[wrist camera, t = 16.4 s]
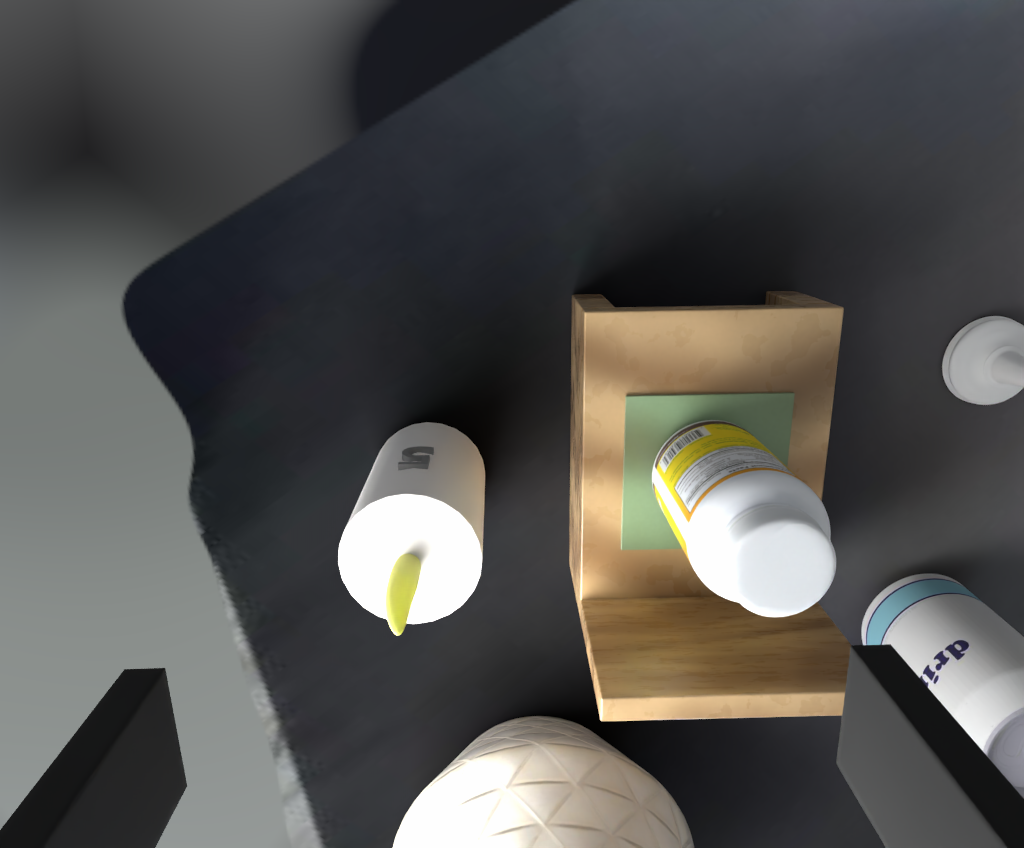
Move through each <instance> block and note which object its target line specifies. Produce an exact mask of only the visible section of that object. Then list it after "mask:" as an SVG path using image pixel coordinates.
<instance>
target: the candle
mask: <svg viewBox="0 0 1024 848" xmlns="http://www.w3.org/2000/svg"><path fill="white" fill-rule="evenodd" d="M484 498H485V468H484V463H483V459H482V457H481V455H480V453H479V451H478V448H477V447H476V446H475V445H474V443H473V442H472V441H471V440H470V439H469V438H468V437H467V436H466V435H464V434H463V433H461V432H460V431H458V430H457V429H455V428H453V427H450V426H447V425H444V424H440V423H430V422H425V423H419V424H413V425H410V426H408V427H406V428H403V429H401V430H399V431H398V432H396V433H395V434H394V435H393V436H391V437H390V438H389V439H388V440H387V442H386V443H385V444H384V446H383V447H382V448H381V450H380V452H379V454H378V456H377V459H376V461H375V463H374V465H373V468H372V470H371V472H370V474H369V477H368V479H367V481H366V483H365V486H364V488H363V490H362V492H361V494H360V497H359V499H358V501H357V503H356V506H355V508H354V510H353V512H352V515H351V517H350V519H349V521H348V524H347V526H346V528H345V530H344V533H343V536H342V539H341V542H340V544H339V557H338V564H339V568H340V572H341V576H342V580H343V581H344V583H345V585H346V587H347V589H348V590H349V592H350V594H351V595H352V596H353V597H354V598H355V599H356V600H357V601H358V602H359V603H360V604H361V605H362V606H363V607H364V608H366V609H367V610H369V611H370V612H372V613H374V614H375V615H377V616H379V617H381V618H385V619H387V620H388V623H389V626H390V628H391V630H392V632H393V633H394V634H395V635H401V633H402V632H403V630H404V628H405V626H406V623H410V624H417V623H424V622H431V621H434V620H437V619H439V618H442V617H444V616H447V615H449V614H451V613H452V612H453V611H455V610H456V609H457V608H459V607H460V606H462V605H463V604H464V603H465V601H466V600H467V599H468V598H469V596H470V595H471V594H472V593H473V591H474V589H475V587H476V585H477V582H478V580H479V578H480V574H481V565H482V552H483V525H484Z"/></svg>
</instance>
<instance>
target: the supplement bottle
mask: <svg viewBox="0 0 1024 848" xmlns="http://www.w3.org/2000/svg"><path fill="white" fill-rule="evenodd" d="M652 485H653V490H654V494H655V497H656V499H657V501H658V503H659V505H660V507H661V509H662V511H663V513H664V514H665V516H666V518H667V520H668V522H669V524H670V526H671V527H672V529H673V531H674V533H675V535H676V537H677V539H678V541H679V542H680V544H681V546H682V548H683V550H684V552H685V554H686V556H687V558H688V559H689V561H690V563H691V565H692V567H693V569H694V571H695V572H696V573H697V575H698V576H699V578H700V579H701V580H702V582H703V583H704V584H705V585H706V586H707V587H708V588H709V589H711V590H712V591H713V592H715V593H716V594H718V595H720V596H722V597H724V598H726V599H728V600H731V601H734V602H738V603H740V604H741V605H742V606H744V607H745V608H746V609H748V610H750V611H752V612H754V613H756V614H759V615H762V616H767V617H785V616H790V615H794V614H797V613H800V612H802V611H804V610H806V609H808V608H809V607H811V606H812V605H814V604H815V603H816V602H817V601H819V600H820V599H821V598H822V596H823V595H824V594H825V593H826V591H827V590H828V589H829V587H830V585H831V583H832V581H833V578H834V575H835V572H836V554H835V551H834V547H833V545H832V543H831V541H830V536H831V530H830V522H829V518H828V515H827V512H826V509H825V507H824V505H823V503H822V502H821V500H820V499H819V497H818V496H817V495H816V494H815V493H814V492H813V491H812V489H811V488H810V487H808V486H807V485H806V484H805V483H804V482H803V481H802V480H801V479H800V478H799V477H797V476H796V475H795V474H794V473H793V472H792V471H791V470H790V469H789V468H788V467H787V466H786V465H785V464H783V463H782V462H781V461H780V460H779V459H778V458H777V457H776V456H775V455H774V454H772V453H771V452H770V451H769V450H768V449H767V448H766V447H765V446H764V445H763V444H762V443H760V442H759V441H758V440H757V439H756V438H755V437H754V436H753V435H752V434H751V433H749V432H748V431H746V430H745V429H743V428H742V427H740V426H738V425H736V424H733V423H730V422H726V421H720V420H706V421H700V422H696V423H693V424H690V425H688V426H686V427H684V428H682V429H680V430H678V431H677V432H676V433H674V434H673V435H672V436H671V437H670V438H669V439H668V440H667V441H666V442H665V443H664V445H663V446H662V447H661V449H660V451H659V452H658V454H657V457H656V459H655V462H654V466H653V471H652Z"/></svg>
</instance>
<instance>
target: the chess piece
mask: <svg viewBox="0 0 1024 848" xmlns="http://www.w3.org/2000/svg"><path fill="white" fill-rule="evenodd" d="M942 373H943V378H944V381H945V383H946V385H947V387H948V389H949V390H950V391H951V392H952V393H953V394H954V395H955V396H956V397H958V398H959V399H961V400H963V401H966V402H970V403H975V404H980V405H991V404H996V403H1000V402H1003V401H1005V400H1007V399H1009V398H1011V397H1013V396H1014V395H1016V394H1017V393H1018V392H1020V391H1021V390H1022V389H1023V388H1024V326H1023V325H1022V324H1020V323H1018V322H1016V321H1014V320H1012V319H1010V318H1007V317H1002V316H989V317H984V318H980V319H978V320H975V321H973V322H971V323H969V324H968V325H966V326H965V327H963V328H962V329H961V330H960V331H959V332H958V333H957V334H956V335H955V336H954V337H953V339H952V340H951V341H950V343H949V345H948V347H947V349H946V351H945V354H944V357H943V363H942Z"/></svg>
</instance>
